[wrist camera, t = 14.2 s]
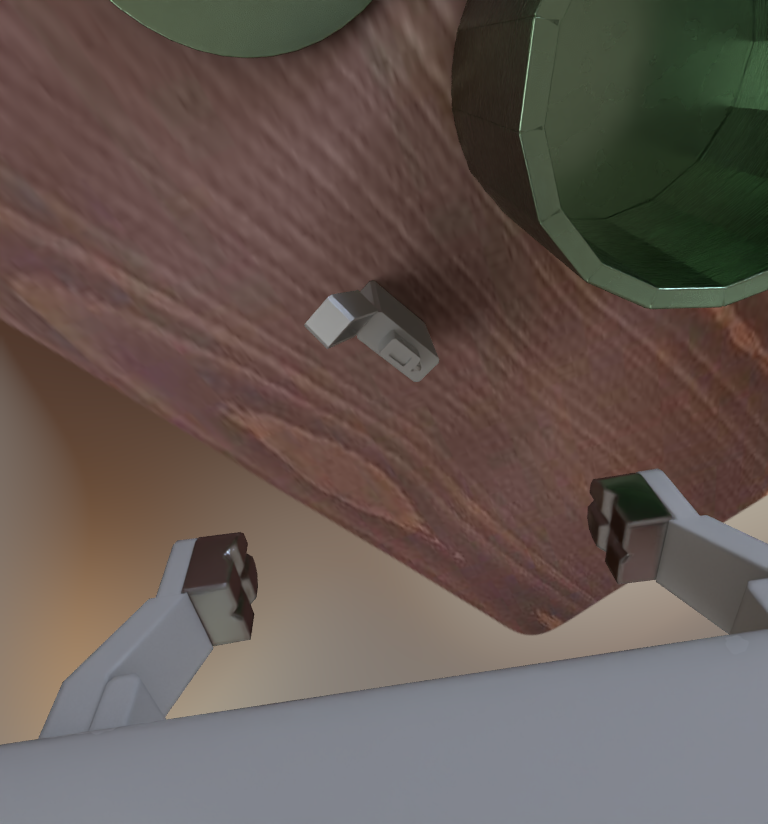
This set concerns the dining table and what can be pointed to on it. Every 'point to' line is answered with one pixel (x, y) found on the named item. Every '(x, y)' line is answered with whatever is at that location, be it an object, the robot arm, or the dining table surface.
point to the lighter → (376, 328)
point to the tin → (625, 138)
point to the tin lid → (244, 23)
